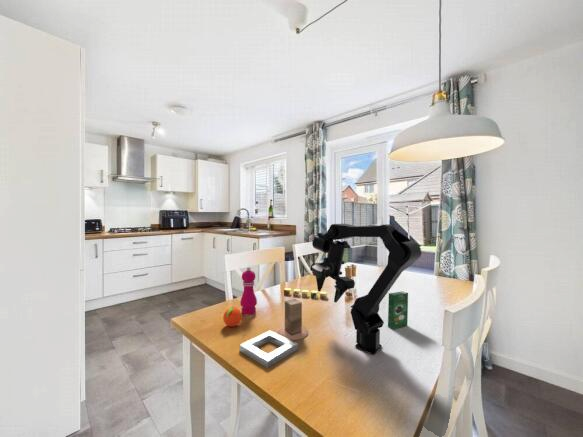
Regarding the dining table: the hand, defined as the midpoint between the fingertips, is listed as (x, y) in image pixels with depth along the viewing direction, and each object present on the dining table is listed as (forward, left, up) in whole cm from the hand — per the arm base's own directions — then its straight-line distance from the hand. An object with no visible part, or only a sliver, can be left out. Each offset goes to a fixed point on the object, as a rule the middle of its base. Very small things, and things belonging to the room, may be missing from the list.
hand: (326, 296), depth 93 cm
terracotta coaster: (+8, +11, -12) cm, 18 cm away
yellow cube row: (+28, -22, -13) cm, 38 cm away
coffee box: (-19, -20, -13) cm, 31 cm away
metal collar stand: (+6, +25, -12) cm, 28 cm away
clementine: (+29, +23, -13) cm, 39 cm away
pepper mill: (+35, +10, -13) cm, 38 cm away
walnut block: (+8, +11, -12) cm, 18 cm away
